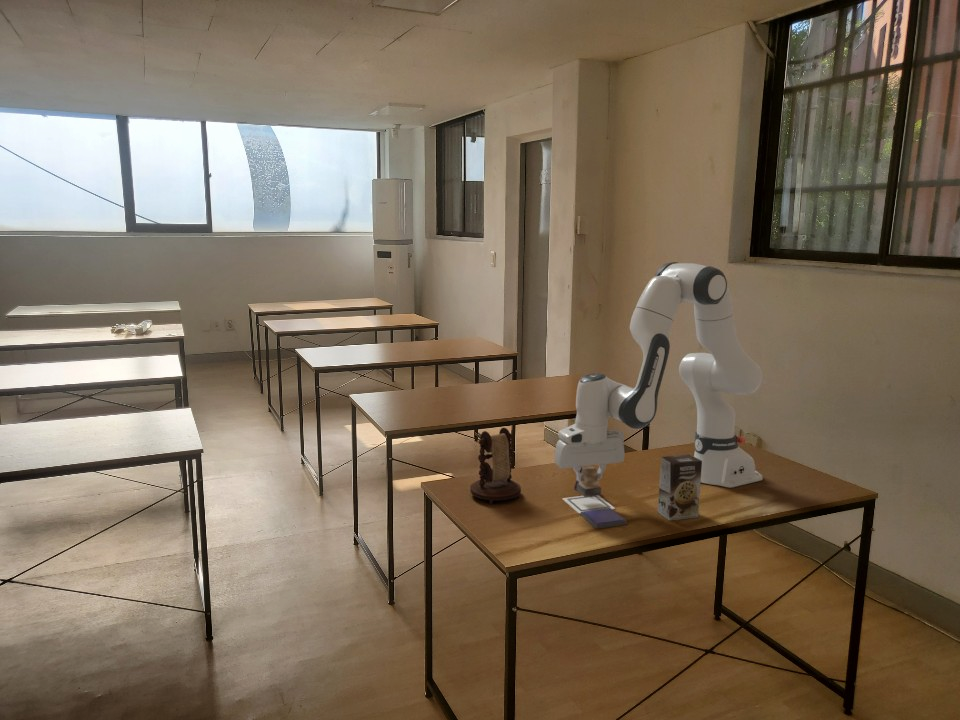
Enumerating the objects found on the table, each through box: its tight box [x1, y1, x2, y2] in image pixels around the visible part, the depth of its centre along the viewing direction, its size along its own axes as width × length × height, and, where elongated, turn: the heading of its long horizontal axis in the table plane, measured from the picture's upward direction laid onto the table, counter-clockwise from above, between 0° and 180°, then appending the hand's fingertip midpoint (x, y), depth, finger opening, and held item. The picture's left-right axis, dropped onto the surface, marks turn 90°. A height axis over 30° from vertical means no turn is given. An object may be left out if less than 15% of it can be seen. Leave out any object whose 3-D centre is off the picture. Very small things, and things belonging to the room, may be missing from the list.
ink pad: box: [580, 508, 628, 530], centre depth 184 cm, size 9×9×1 cm
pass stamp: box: [576, 466, 602, 497], centre depth 194 cm, size 5×5×7 cm
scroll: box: [469, 427, 522, 505], centre depth 200 cm, size 15×15×20 cm
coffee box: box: [657, 454, 702, 522], centre depth 187 cm, size 9×6×16 cm
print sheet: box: [562, 495, 616, 515], centre depth 195 cm, size 11×11×1 cm
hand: (589, 479), depth 194 cm, fingers closed on pass stamp, 4 cm apart
